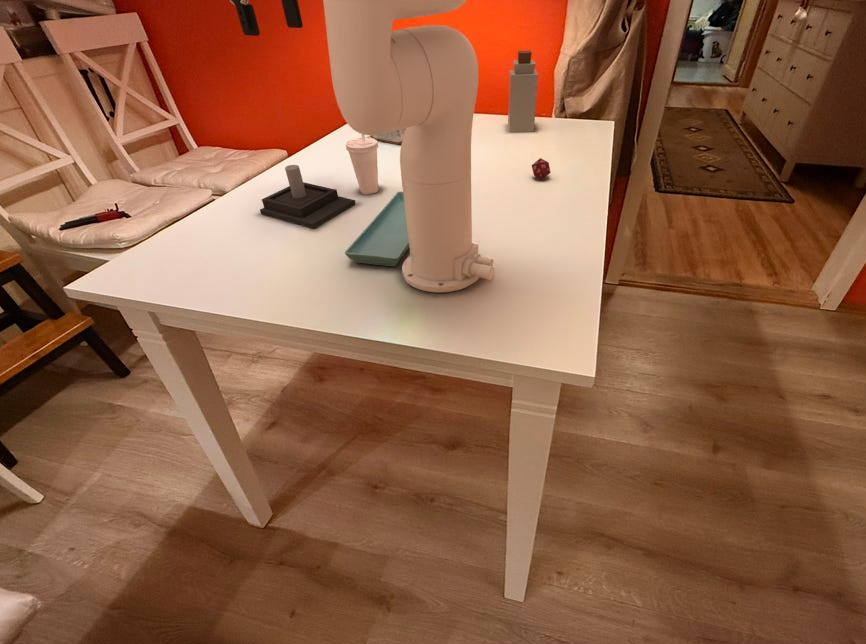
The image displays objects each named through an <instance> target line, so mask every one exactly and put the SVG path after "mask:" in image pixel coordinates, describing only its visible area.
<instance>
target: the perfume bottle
mask: <svg viewBox="0 0 866 644" xmlns="http://www.w3.org/2000/svg"><path fill="white" fill-rule="evenodd" d="M532 55H533V52H532V50H529V49H528V50H517V59H516V60H514V59H513V60H512V64H513V69H510V70H509V80H508V105H507V106H508V108H507V128H508V129H507V130H508V133H533V132H535V123H536V110H537V109H536V108H537V93H538V79H539V74H538V71H537V70H536V62H535V60H534V59H532Z"/></svg>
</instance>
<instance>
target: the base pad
mask: <svg viewBox="0 0 866 644" xmlns="http://www.w3.org/2000/svg"><path fill="white" fill-rule="evenodd" d="M303 184H304V188H307V189H312V190H316V191H320V192H325V194H323V195H321V196H319V197H317V198H315V199H313V200H311V201H309V202H308V203H306V204H304V205H302V206H297V205H293V204H289V203H285V202H281V201H277V200H274V199H275V198H277V197H279V196H281V195H283V194H285V193H287V192H289V191H291V188H290V185H289V186H286V187H284V188H282V189H280V190H278V191H276V192H273V193H271V194H270V195H268V196H265V197H264V198H262V199H261V202H262V205H263V207H262V208H260V209H259V212H260V214H261V215H262V216H266V217H268V218H269V217H270V218H273V219H277V220H280V221H284V222H288V223H291V224H295V225H298V226H301V227H306V228H310V229H313V230H315V229H317V228H318V227H320V226H322V225H323V224H325V223H327V222H329V221H330V220H332V219H334V218H335V217H337V216H339V215H340V214H342V213H344V212H345V211H347V210H349V209H351V208H353V207H354V206H355V205H356V200H355V199H352V198H349V197H348V198H347V197H343V196H339V193H338V190H337V189H336V188H330V187H327V186H321V185H318V184H313V183H308V182H305V181H303Z"/></svg>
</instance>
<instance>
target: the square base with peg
mask: <svg viewBox="0 0 866 644" xmlns="http://www.w3.org/2000/svg"><path fill="white" fill-rule="evenodd" d="M284 170H285V174H286V177H287V181H288V185H289V186H290V188H291V191H289V192H287V193H285V194H283V195H281V196H279V197H277V198H275V199H274V200H277V201H281V202H285V203H289V204H293V205H297V206H302V205H304V204H306V203H308V202H309V201H311V200H313V199H315V198H317V197H319V196H321V195H323V194H325V192H320V191H316V190H312V189H307V188H304V184H303V182H304V180H303V176H302V172H301V170H300V166H299V165H298V164H289V165H287V166H285V167H284Z"/></svg>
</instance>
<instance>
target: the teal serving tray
mask: <svg viewBox="0 0 866 644" xmlns="http://www.w3.org/2000/svg"><path fill="white" fill-rule="evenodd" d="M408 249H410V248H409V239H408V230H407V221H406V213H405V204H404V195H403V191H397V192H396V193H395V194H394V195H393V197H392V198H391V199H390V200H389V201H388V202H387V204H386V205H385V206H384V207H383V208H382V209H381V211H380V212H379V213H378V214H377V215H376V216H375V217H374V218H373V220H372V221H371V222H370V223H369V224H368V225H367V227H366V228H365V229H364V230H363V231H362V232H361V233H360V234H359V235H358V236H357V238H355V240H354V241H353V242H352V243H351V244H350V245H349V247H347V249H346V250H345V251H344V254H345V255H346V257H347V258H349V259H350V260H351V261H352V262H353V263H355V264H357V263H358V264H366V265H367V264H368V265H376V266H386V267H397V265H398V263H400V261H401V259H402V258H403V256H404V255H405V254H406V253H407V251H408Z"/></svg>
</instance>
